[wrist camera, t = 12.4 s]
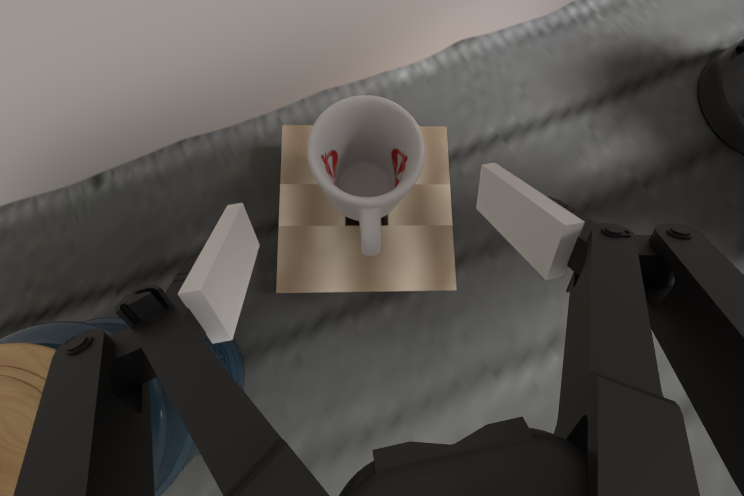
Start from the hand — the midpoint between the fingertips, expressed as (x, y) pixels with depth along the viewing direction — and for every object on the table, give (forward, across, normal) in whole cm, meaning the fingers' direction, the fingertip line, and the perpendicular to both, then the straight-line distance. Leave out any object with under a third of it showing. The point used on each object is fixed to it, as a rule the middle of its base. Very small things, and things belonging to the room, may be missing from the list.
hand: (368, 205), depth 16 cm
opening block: (+12, +1, -8) cm, 15 cm away
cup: (+10, +1, -5) cm, 11 cm away
